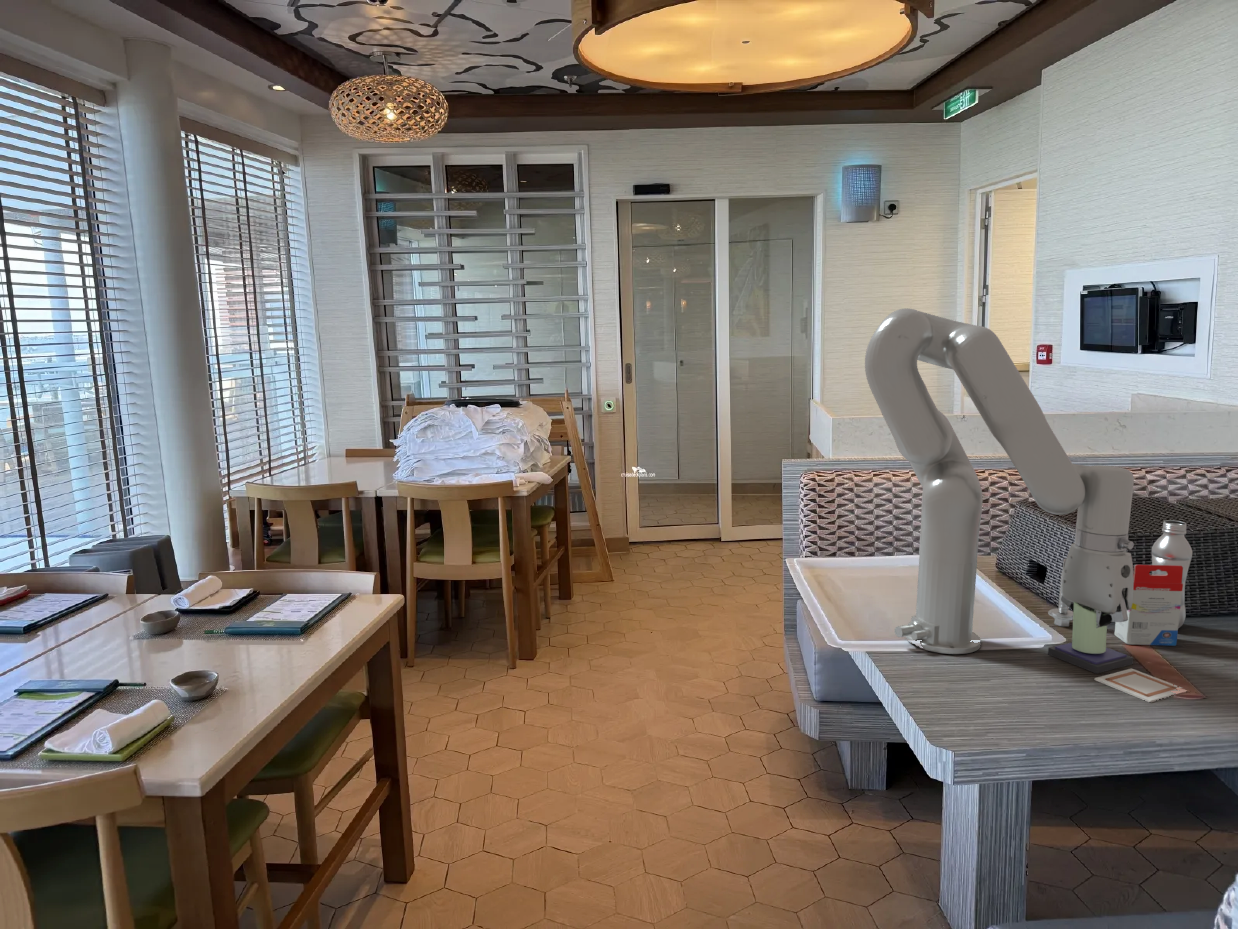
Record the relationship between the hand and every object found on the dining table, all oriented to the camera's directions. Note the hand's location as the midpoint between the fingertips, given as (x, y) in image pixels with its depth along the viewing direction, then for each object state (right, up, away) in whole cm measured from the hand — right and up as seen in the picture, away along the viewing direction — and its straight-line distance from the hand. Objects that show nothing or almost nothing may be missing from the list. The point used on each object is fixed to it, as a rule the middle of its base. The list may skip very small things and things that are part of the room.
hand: (1089, 645), depth 143 cm
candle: (0, -1, 0) cm, 1 cm away
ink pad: (0, -2, 0) cm, 2 cm away
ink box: (+15, -1, +9) cm, 17 cm away
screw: (+4, 0, +17) cm, 17 cm away
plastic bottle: (+22, 0, +15) cm, 27 cm away
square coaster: (+2, -4, -10) cm, 11 cm away
